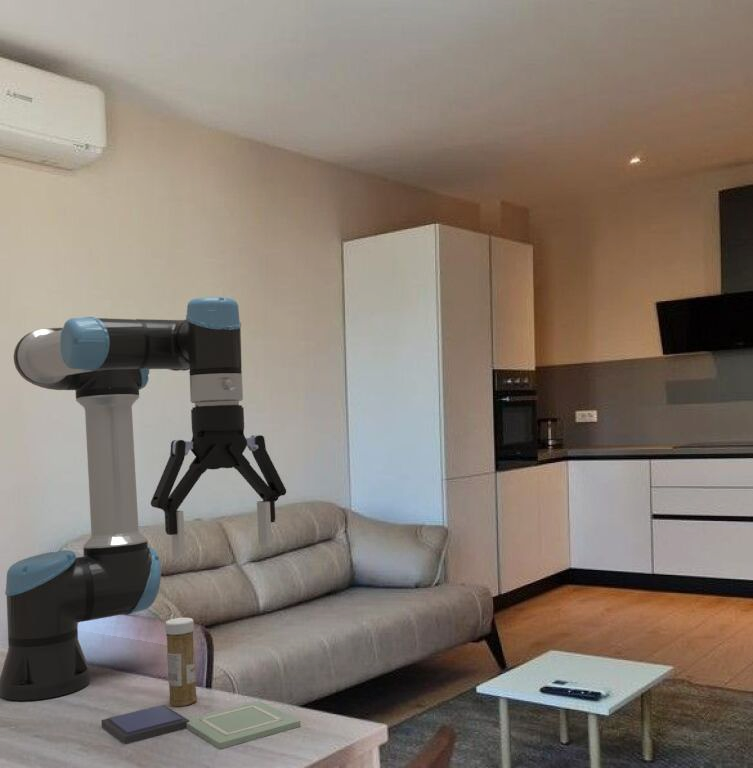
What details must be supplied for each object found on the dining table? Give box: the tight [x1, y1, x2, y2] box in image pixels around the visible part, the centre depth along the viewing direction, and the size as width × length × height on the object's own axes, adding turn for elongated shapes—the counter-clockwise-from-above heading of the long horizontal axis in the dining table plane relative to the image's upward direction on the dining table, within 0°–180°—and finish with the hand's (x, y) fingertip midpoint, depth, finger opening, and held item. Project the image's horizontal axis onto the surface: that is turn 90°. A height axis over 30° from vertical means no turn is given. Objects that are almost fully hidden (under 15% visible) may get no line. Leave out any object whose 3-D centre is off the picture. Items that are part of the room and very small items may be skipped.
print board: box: [186, 700, 302, 750], centre depth 131 cm, size 13×13×1 cm
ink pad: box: [101, 704, 189, 745], centre depth 133 cm, size 10×10×1 cm
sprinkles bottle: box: [164, 617, 198, 707], centre depth 144 cm, size 5×5×13 cm
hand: (223, 551), depth 127 cm, fingers open, 13 cm apart
